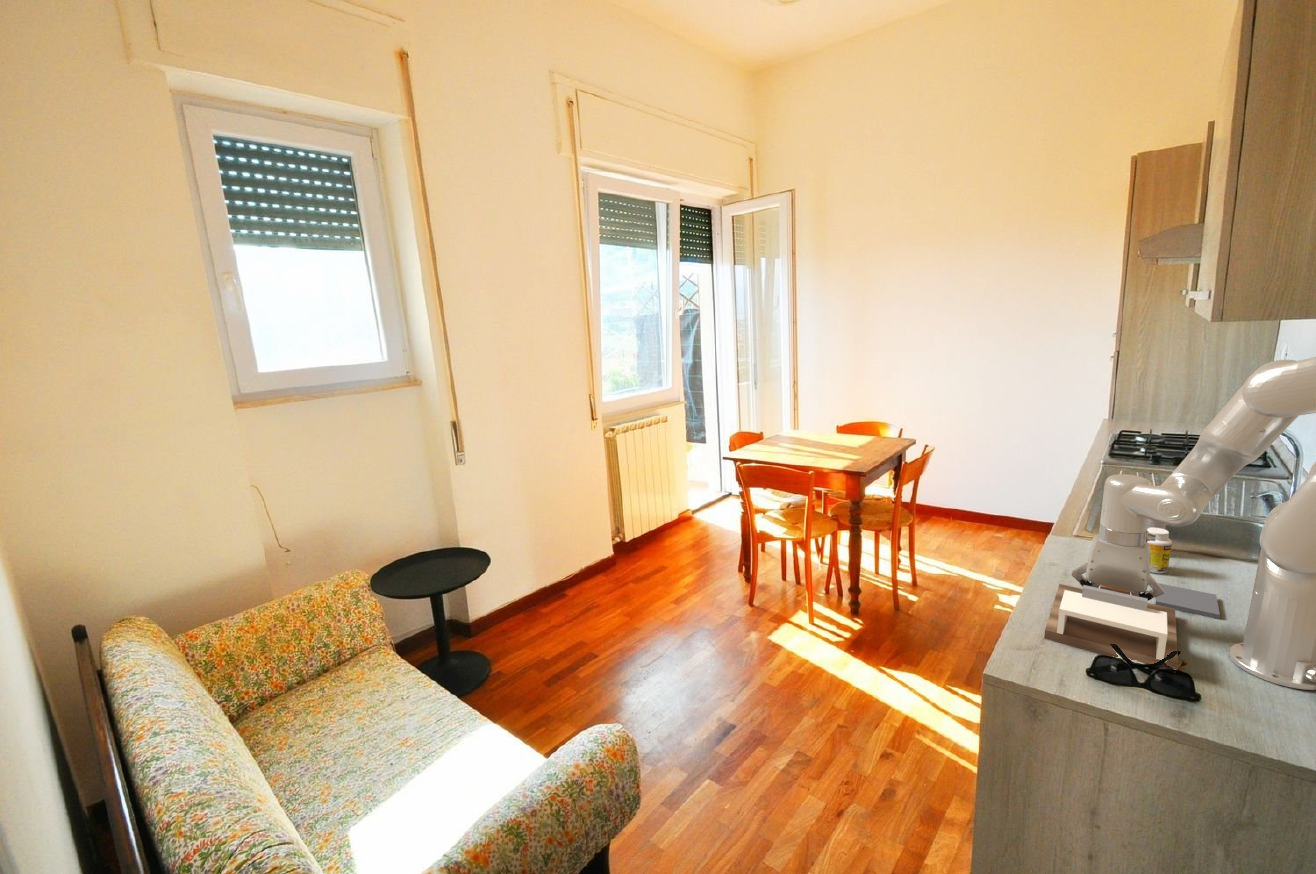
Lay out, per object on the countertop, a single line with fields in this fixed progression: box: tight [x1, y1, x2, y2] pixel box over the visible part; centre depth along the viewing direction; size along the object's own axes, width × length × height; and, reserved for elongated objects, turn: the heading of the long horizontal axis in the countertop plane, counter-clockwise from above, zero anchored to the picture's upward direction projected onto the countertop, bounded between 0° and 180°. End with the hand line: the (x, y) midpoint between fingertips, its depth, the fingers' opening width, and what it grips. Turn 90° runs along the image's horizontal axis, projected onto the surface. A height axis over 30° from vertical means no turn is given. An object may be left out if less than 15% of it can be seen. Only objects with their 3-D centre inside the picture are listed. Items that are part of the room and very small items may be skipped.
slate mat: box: [1155, 582, 1221, 620], centre depth 126 cm, size 10×10×1 cm
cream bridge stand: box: [1057, 585, 1167, 660], centre depth 111 cm, size 9×16×7 cm, turn 50°
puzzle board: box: [1043, 583, 1179, 670], centre depth 118 cm, size 23×20×2 cm
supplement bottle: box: [1147, 528, 1173, 574], centre depth 139 cm, size 6×6×10 cm
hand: (1111, 613), depth 121 cm, fingers open, 5 cm apart
